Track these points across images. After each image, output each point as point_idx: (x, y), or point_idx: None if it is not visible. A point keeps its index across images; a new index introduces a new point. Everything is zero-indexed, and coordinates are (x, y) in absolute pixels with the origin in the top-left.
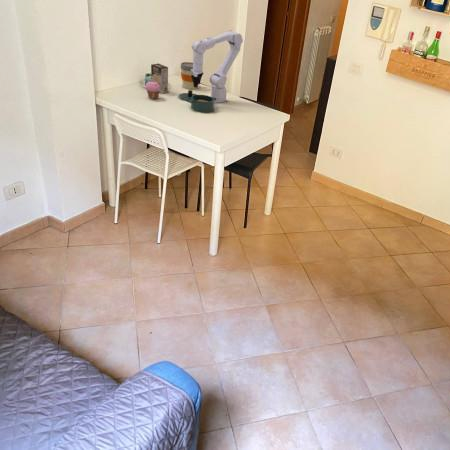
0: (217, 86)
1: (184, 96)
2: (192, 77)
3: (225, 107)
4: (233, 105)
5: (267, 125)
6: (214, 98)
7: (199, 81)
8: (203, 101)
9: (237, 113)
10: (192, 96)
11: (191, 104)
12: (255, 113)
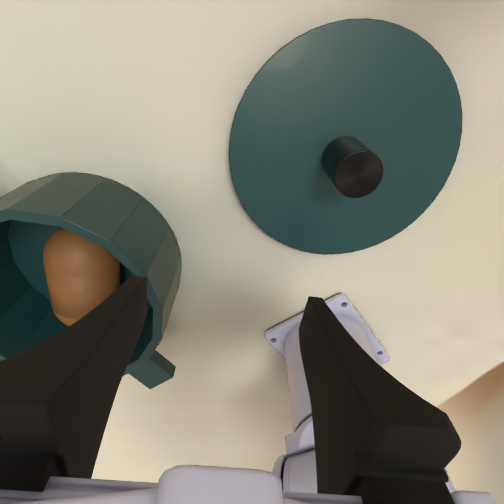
0: (279, 460)
1: (330, 96)
2: None
3: (197, 377)
4: (253, 410)
5: None
6: (141, 379)
7: (306, 360)
8: (56, 300)
9: (121, 420)
10: (39, 220)
11: (34, 185)
12: None
